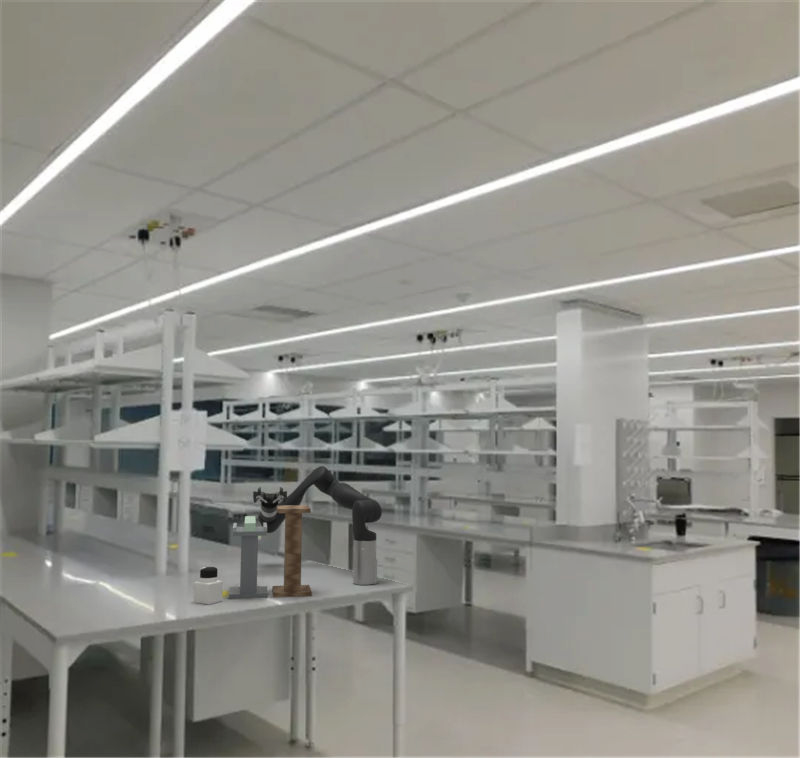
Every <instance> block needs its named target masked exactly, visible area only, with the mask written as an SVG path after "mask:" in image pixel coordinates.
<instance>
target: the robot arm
mask: <svg viewBox="0 0 800 758" xmlns="http://www.w3.org/2000/svg"><path fill="white" fill-rule="evenodd" d="M313 485H314V487H316V488H317V490H319V491H320V492H321V493H323V494H325V495H327V496H330V497H331V498H332V500H333V501H334V502H335V503H336V504H337V505H339V506H341V507H343V508H345V509H349V510H351V516H352V518H351V519H352V534H353V563H352V565H353V570H352V573H353V574H352V575H353V576H352V578H353V579H352V581H353V584H354V585H360V586H361V585H363V586H368V585H374V584H378V559H377V532H376V531H375V532H374V531H373V530H369V529H368V528H367V526H366V524H367V523H368V524H369V523H370V524H371V523H375V522H378V521H379V520H380V519H381V517H382V514H383V511H382V508H381V505H380V503H379V502H378V501H377V500H375V499H373V498H371V497H368V495H367V496H366V495H364V494H363V493H362V492H360V491H359V490H357V489H355V488H354V487H353V486H351V485H350V484H348V483H346V482H340V481H338V479H337V478H336V476H334V474H333V473H332V472H331V471H330V470H329V469H328V468H327V467H326V466H323V465H320V466H318V467H316V468H315V469H313V470H312V471H311V473H309V474H308V475H307V476H306V477H305V478H304V479H303V481H301V483H299V485H298V486H297V487H296V488H295V489H294V490H293V491H292V492H291V493H290V494H289V495H288V491H287V490H284V488H283V487H282V486H279V491H276V492H272V493H267V492H265V491H262V487H261V486H260V487H257V491H253V492H252V497H253V498H252V499H253V503H254V504H255V503H257V502H258V501H260V512H259V514H258V516H257V518H258V522H259V523H260V525H261V527H263V523H267V532H266V534H272V533H274V532H276V531H277V530H278V528H280V526H281V525H282V523H283V522H285V513H278V512H277V506H278V505H301V504H302V501H303V499H304V496H305V494H306V492H307V491H308V489H309V488H310V487H311V486H313Z"/></svg>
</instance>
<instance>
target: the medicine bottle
mask: <svg viewBox="0 0 800 758" xmlns="http://www.w3.org/2000/svg"><path fill="white" fill-rule="evenodd" d="M193 583H194V584H193V585H194V586H193V603H195V604H200V605H201V604H202V605H207V606H208V605H211V604H216V603H219V602H223V580H219V579H218V568H217V567H214V566H204V567H201V568H200V569H199V580H196V581H195V582H193Z"/></svg>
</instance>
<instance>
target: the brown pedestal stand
mask: <svg viewBox="0 0 800 758" xmlns="http://www.w3.org/2000/svg"><path fill="white" fill-rule="evenodd" d="M311 511H312V509H311V507H310V506H309V505H304V504H302V505H301V504H300V505H278V506H277V512H278V513H285V519H284V554H283V555H284V557H283V585H272V589H271V590H272V596H273V598H287V597H288V598H291V597H292V598H293V597H312V596H313V595H312V594H313V592H312V589H311V587H310V584H302V547H303V546H302V544H303V543H302V542H303V540H302V539H303V537H302V536H303V514H311Z"/></svg>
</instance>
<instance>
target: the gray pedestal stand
mask: <svg viewBox="0 0 800 758" xmlns="http://www.w3.org/2000/svg"><path fill="white" fill-rule="evenodd" d="M259 536H267V523H263V527H262V526H256V531H252V532H244V526H238V523H237V522H233V524H232V537H241V539H240V542H241V543H240V580H239V586H230V587H229V590H228V599H230V600H231V599H234V600H235V599H236V600H237V599H262V598H265V599H266V598H268V597H269V590H268V589H269V588H268V585H259V586H258V558H259V557H258V555H259V554H258V549H259Z"/></svg>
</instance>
